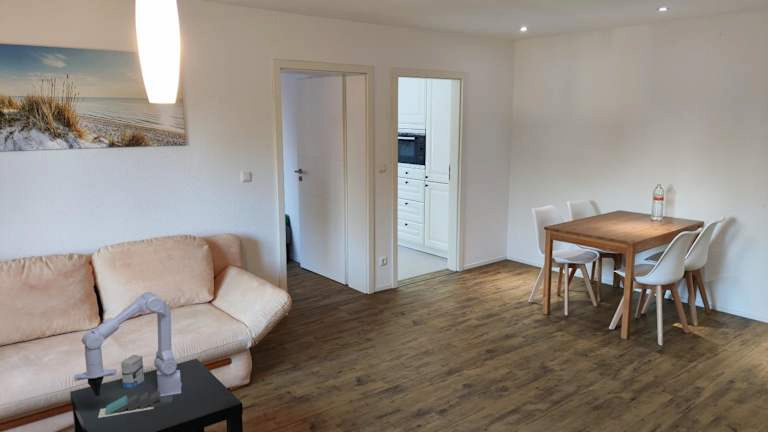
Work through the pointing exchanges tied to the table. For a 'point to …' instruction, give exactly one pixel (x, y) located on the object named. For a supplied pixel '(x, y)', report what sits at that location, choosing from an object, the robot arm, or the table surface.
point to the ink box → (132, 371)
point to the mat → (103, 413)
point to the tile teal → (116, 405)
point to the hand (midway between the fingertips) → (97, 395)
